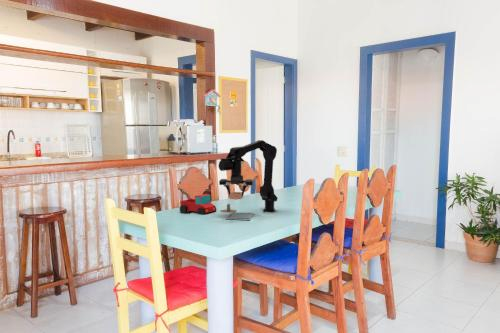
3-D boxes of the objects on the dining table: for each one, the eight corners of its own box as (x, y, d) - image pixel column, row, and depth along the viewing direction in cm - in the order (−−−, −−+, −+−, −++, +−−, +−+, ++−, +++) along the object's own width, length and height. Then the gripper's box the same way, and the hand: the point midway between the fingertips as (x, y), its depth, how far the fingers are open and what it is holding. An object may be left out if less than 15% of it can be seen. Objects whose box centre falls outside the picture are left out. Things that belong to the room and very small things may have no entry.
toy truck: (204, 217, 222) (203, 197, 221) (178, 213, 233) (178, 194, 232) (217, 213, 231) (217, 194, 230) (192, 209, 243) (192, 191, 242)
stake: (222, 210, 239) (222, 202, 238) (238, 211, 236) (238, 202, 236) (218, 214, 229) (218, 205, 228) (234, 214, 227) (234, 206, 226)
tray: (231, 214, 227) (231, 212, 227) (254, 215, 224) (254, 213, 224) (225, 219, 214) (225, 217, 214) (249, 221, 211) (249, 218, 211)
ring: (231, 197, 226) (231, 191, 225) (242, 197, 225) (242, 192, 225) (229, 199, 217) (229, 194, 217) (241, 199, 217) (241, 194, 217)
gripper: (217, 171, 213) (218, 199, 214) (251, 171, 212) (251, 199, 213) (220, 169, 224) (220, 196, 226) (252, 169, 223) (252, 196, 225)
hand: (236, 197), depth 222 cm, fingers closed on ring, 7 cm apart
